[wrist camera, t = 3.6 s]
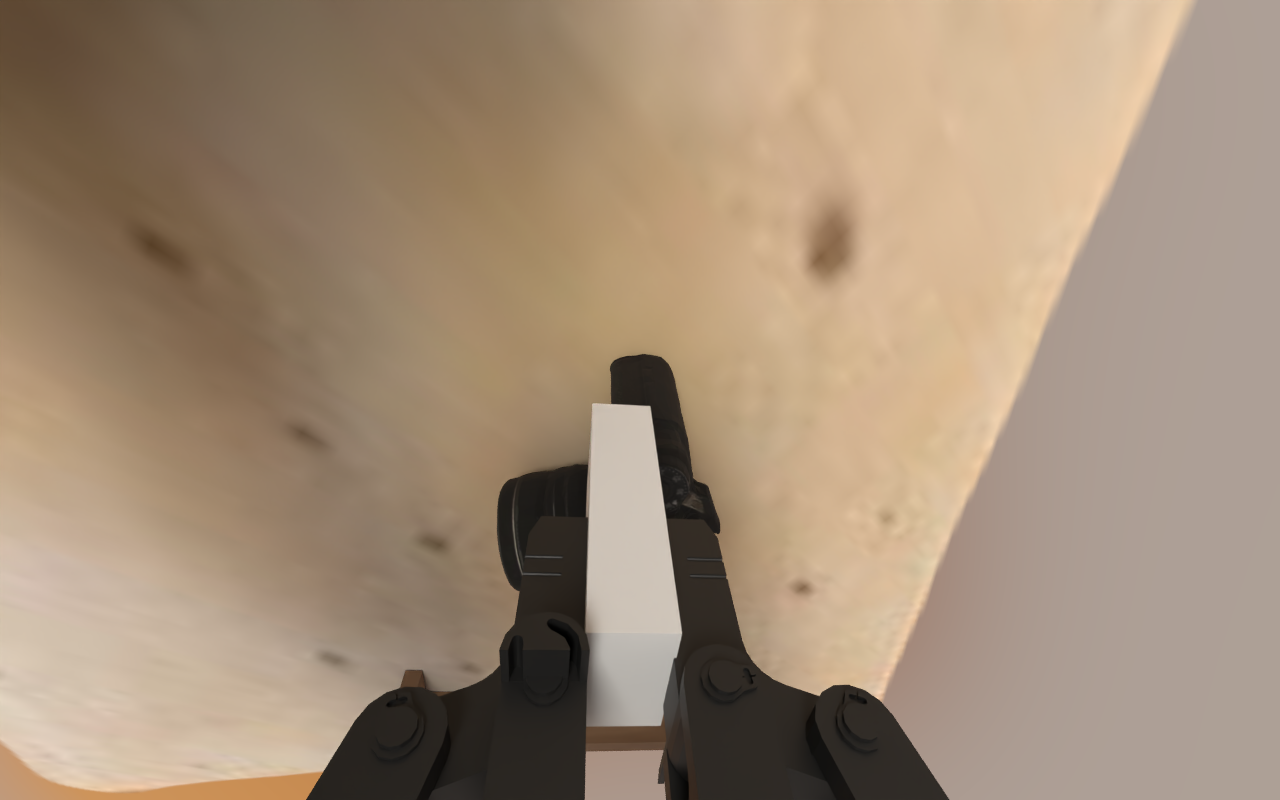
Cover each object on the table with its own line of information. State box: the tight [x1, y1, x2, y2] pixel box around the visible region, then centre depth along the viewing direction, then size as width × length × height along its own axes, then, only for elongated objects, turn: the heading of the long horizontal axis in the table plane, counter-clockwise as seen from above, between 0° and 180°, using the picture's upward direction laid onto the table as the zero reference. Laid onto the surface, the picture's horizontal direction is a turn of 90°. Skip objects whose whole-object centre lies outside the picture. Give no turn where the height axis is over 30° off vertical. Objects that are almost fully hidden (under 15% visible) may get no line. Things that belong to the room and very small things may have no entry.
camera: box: [497, 354, 720, 591], centre depth 27 cm, size 14×11×10 cm
